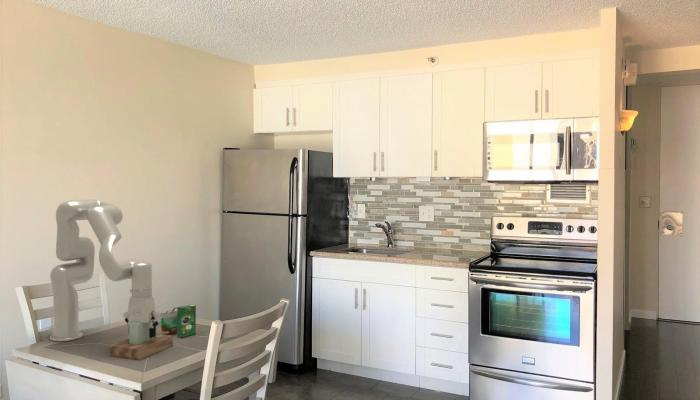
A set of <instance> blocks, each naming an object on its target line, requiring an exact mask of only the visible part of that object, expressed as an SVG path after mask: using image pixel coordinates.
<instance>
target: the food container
mask: <svg viewBox="0 0 700 400" xmlns="http://www.w3.org/2000/svg"><path fill="white" fill-rule="evenodd" d="M177 307H178V306H177ZM177 307H174V306H173V309H171V310H167V311H165V312H160V316H161V320H160V328H161V334H163V335H172V336H174V335H177Z"/></svg>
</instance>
